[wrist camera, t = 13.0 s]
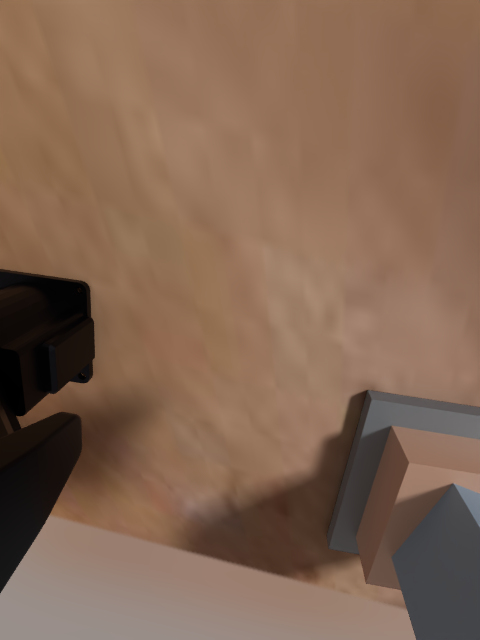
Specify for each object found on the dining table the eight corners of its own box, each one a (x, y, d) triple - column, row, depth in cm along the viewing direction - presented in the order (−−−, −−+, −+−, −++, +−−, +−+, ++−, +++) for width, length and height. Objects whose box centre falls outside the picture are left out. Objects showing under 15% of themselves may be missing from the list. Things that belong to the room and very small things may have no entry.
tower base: (326, 535, 25) (334, 595, 22) (367, 390, 21) (386, 433, 17) (500, 566, 25) (540, 633, 21) (578, 422, 21) (645, 474, 17)
